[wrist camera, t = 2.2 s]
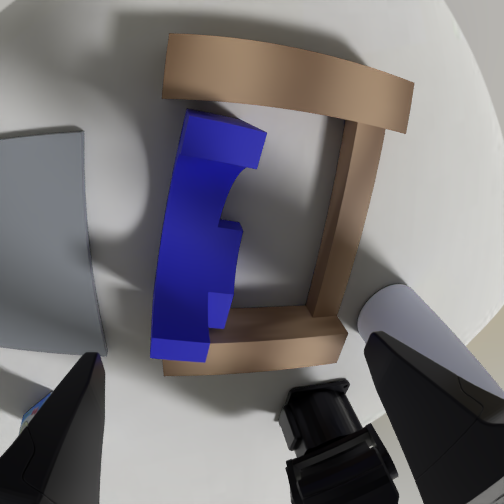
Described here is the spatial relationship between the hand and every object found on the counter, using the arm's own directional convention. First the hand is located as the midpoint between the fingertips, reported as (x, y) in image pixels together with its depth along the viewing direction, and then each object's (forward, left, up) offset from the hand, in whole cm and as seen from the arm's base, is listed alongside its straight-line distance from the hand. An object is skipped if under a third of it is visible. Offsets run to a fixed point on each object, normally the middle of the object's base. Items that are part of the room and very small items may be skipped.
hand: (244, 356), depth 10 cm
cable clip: (0, 0, -11) cm, 11 cm away
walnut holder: (-3, 0, -11) cm, 11 cm away
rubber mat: (+13, +3, -11) cm, 18 cm away
